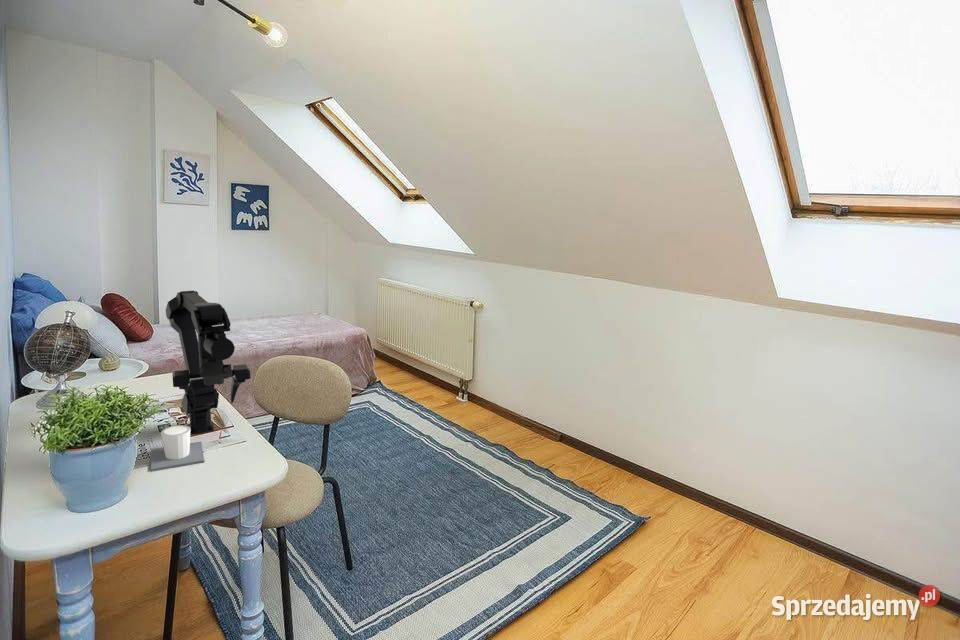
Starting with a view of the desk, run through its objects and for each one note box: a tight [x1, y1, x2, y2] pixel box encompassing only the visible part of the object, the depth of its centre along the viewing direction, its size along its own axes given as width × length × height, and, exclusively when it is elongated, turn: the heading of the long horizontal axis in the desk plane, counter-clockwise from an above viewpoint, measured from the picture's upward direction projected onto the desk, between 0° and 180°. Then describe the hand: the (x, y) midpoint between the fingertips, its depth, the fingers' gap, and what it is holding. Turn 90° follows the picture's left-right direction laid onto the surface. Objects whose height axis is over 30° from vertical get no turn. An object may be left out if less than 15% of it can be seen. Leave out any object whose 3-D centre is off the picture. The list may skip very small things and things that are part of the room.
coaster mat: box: [150, 441, 205, 472], centre depth 144 cm, size 12×12×1 cm
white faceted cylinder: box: [160, 424, 191, 459], centre depth 143 cm, size 7×7×7 cm
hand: (213, 404), depth 149 cm, fingers open, 9 cm apart
